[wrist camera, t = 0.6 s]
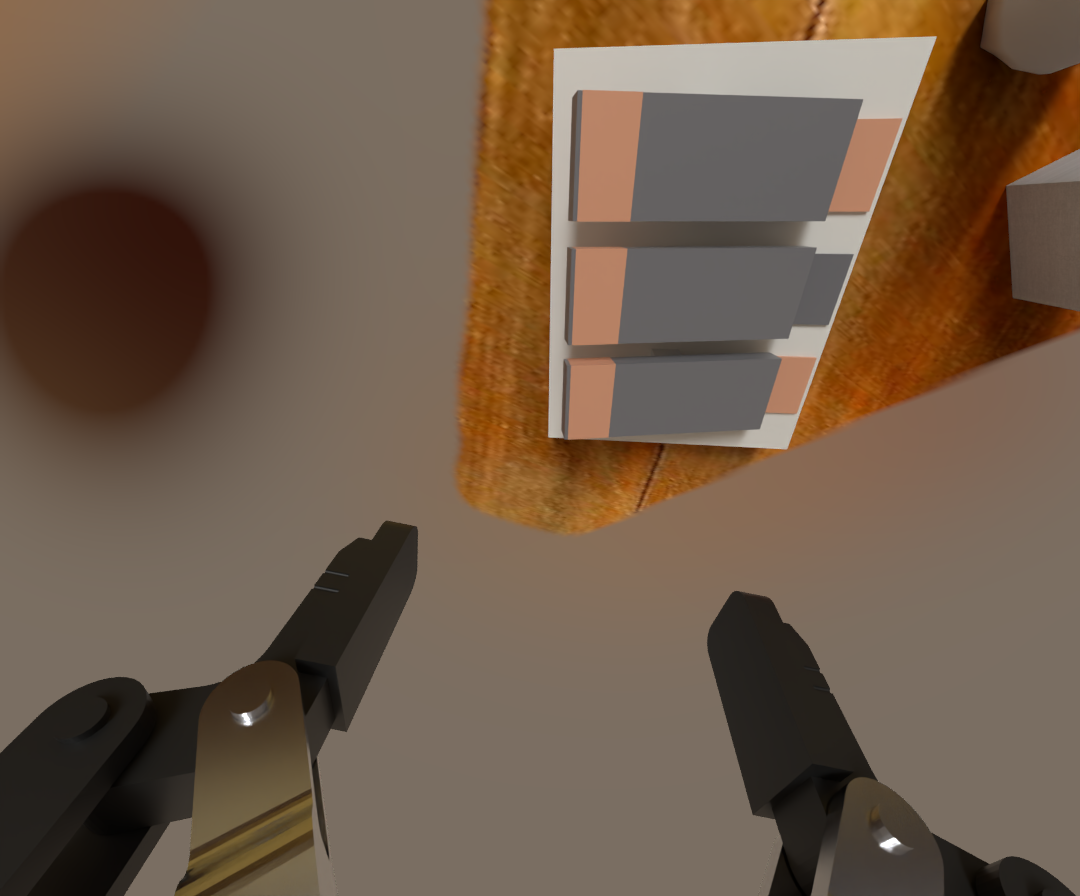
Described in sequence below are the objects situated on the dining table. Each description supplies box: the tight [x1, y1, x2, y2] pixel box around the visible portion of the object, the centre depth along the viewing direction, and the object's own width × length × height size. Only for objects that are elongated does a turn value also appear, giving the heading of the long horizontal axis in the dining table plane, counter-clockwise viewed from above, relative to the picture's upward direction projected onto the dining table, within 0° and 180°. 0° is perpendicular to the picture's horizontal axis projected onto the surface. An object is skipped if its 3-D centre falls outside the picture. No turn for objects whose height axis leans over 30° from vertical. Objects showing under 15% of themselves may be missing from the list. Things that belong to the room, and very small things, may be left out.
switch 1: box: [568, 90, 864, 222], centre depth 18 cm, size 12×4×1 cm, turn 90°
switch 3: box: [561, 352, 782, 440], centre depth 23 cm, size 12×4×1 cm, turn 90°
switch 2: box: [564, 246, 817, 345], centre depth 20 cm, size 12×4×1 cm, turn 90°
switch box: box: [548, 37, 936, 449], centre depth 24 cm, size 16×20×5 cm
